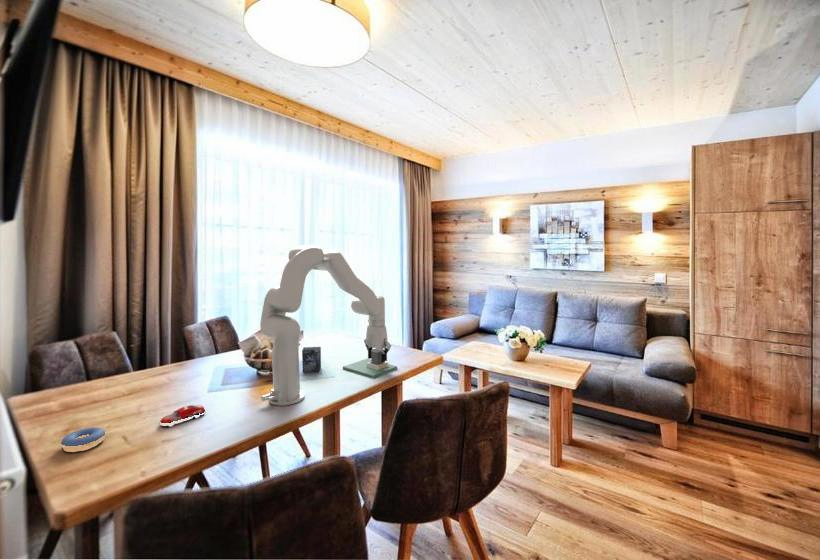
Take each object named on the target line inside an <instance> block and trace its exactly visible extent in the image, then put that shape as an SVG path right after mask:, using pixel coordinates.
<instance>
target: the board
mask: <svg viewBox="0 0 820 560" xmlns="http://www.w3.org/2000/svg"><path fill="white" fill-rule="evenodd" d="M344 369H345V371H347V370H348V372H351V371H352V372H351V373H354V372H355V373H354V374H357V373H358V375H361V374H362V376H364V375H365V377H367V376H368V377H367V378H371V379H375V378H378V377H380V376H383V375H385V374H387V373H390V372H392V371H395V370H398V366H396V365H393V364H389V361H385V362H384V363H382V364H379V365H375V364H372V363H371V359H368V358H365V359H362V360H359V361H356V362H353V363H349V364H346V365H343V366H342V370H344Z"/></svg>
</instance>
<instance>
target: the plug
mask: <svg viewBox="0 0 820 560" xmlns="http://www.w3.org/2000/svg"><path fill="white" fill-rule="evenodd" d="M381 354H382V351H381V349H377V348H373V350H371V363H372V364H375V365H379V364H382V363H384V362H381Z"/></svg>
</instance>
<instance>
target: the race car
mask: <svg viewBox="0 0 820 560" xmlns="http://www.w3.org/2000/svg"><path fill="white" fill-rule="evenodd" d="M204 412H205V413H206V409H205V407H204V406H203V405H201V404H197V405H193V404H192V405H188V406H187V405H186V406H183V407H180V408H178V409H176V410H174V411H173V412H172V413H170V414H169V415H165V416H164V417H162V418H161V419H160V421H159V423H160V422H161V423H171V422H173V421H178V420H181V419H185V418H188V417H192V416H194V415H199V413H200V414H202V413H204Z"/></svg>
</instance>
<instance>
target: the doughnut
mask: <svg viewBox="0 0 820 560" xmlns="http://www.w3.org/2000/svg"><path fill="white" fill-rule="evenodd" d="M105 432H106V431H105V429H103V428H101V427H92V426H91V427H87V428H82V429H79V430H76V431H73V432H70V433H69V434H67V435H66V436H64V437H63V438H62V439H61V441H60V443H61V444H62V445H65V446H78V445H84V444H87V443H90V442H93V441H96V440H98V439H99V438H101V437H102V436H104V435H105ZM87 434H89V436H86V437H83V438H77V437H79V436H82V435H87ZM76 438H77V439H76Z"/></svg>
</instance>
